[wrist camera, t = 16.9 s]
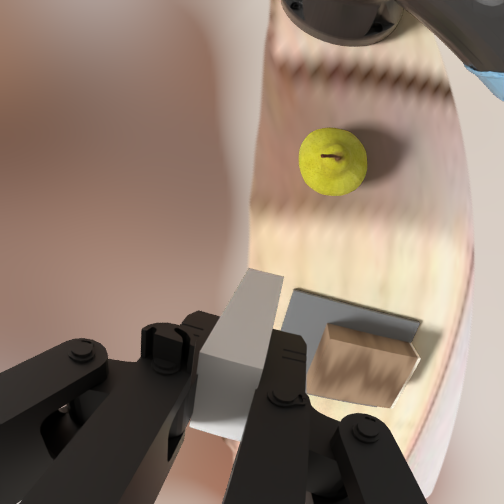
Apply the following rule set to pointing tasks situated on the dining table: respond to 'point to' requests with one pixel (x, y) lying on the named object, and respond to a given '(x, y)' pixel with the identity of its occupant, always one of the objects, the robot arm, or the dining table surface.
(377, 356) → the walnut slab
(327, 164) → the fruit
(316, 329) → the felt pad
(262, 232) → the dining table surface
